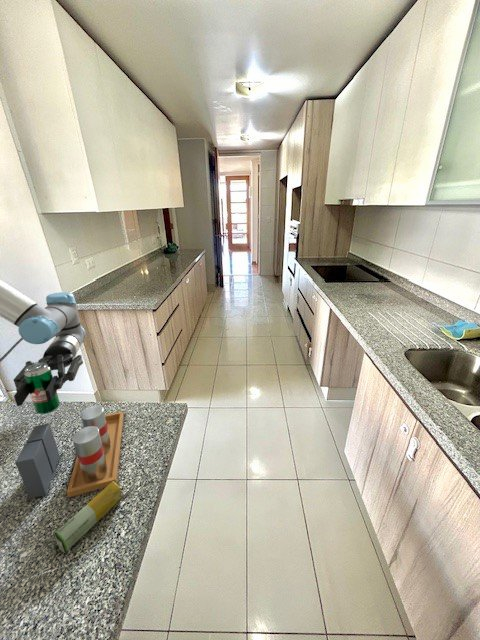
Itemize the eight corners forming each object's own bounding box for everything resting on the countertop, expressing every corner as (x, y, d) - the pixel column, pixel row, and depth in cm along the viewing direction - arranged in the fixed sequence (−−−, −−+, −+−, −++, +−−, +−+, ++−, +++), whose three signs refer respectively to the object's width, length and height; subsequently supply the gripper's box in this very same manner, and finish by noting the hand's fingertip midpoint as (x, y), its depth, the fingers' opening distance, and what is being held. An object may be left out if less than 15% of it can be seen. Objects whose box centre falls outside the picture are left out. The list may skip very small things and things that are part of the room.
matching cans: (91, 444, 69) (82, 407, 65) (112, 439, 71) (104, 403, 67) (81, 486, 58) (69, 446, 54) (106, 480, 60) (97, 440, 55)
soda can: (31, 416, 62) (17, 374, 58) (42, 403, 67) (29, 362, 63) (55, 414, 63) (43, 371, 59) (63, 401, 68) (53, 361, 64)
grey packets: (46, 460, 65) (34, 425, 61) (60, 457, 66) (49, 423, 62) (30, 500, 56) (15, 462, 52) (46, 495, 57) (33, 458, 53)
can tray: (89, 423, 77) (87, 418, 76) (123, 416, 80) (123, 411, 79) (68, 499, 56) (66, 492, 55) (116, 485, 59) (115, 479, 58)
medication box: (64, 556, 47) (60, 544, 45) (56, 546, 48) (51, 534, 46) (123, 498, 56) (121, 486, 55) (115, 490, 57) (112, 479, 56)
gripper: (97, 358, 83) (82, 404, 62) (29, 367, 77) (-12, 420, 57) (93, 337, 80) (75, 377, 60) (22, 344, 75) (-24, 391, 54)
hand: (33, 398), depth 58 cm, fingers closed on soda can, 5 cm apart
